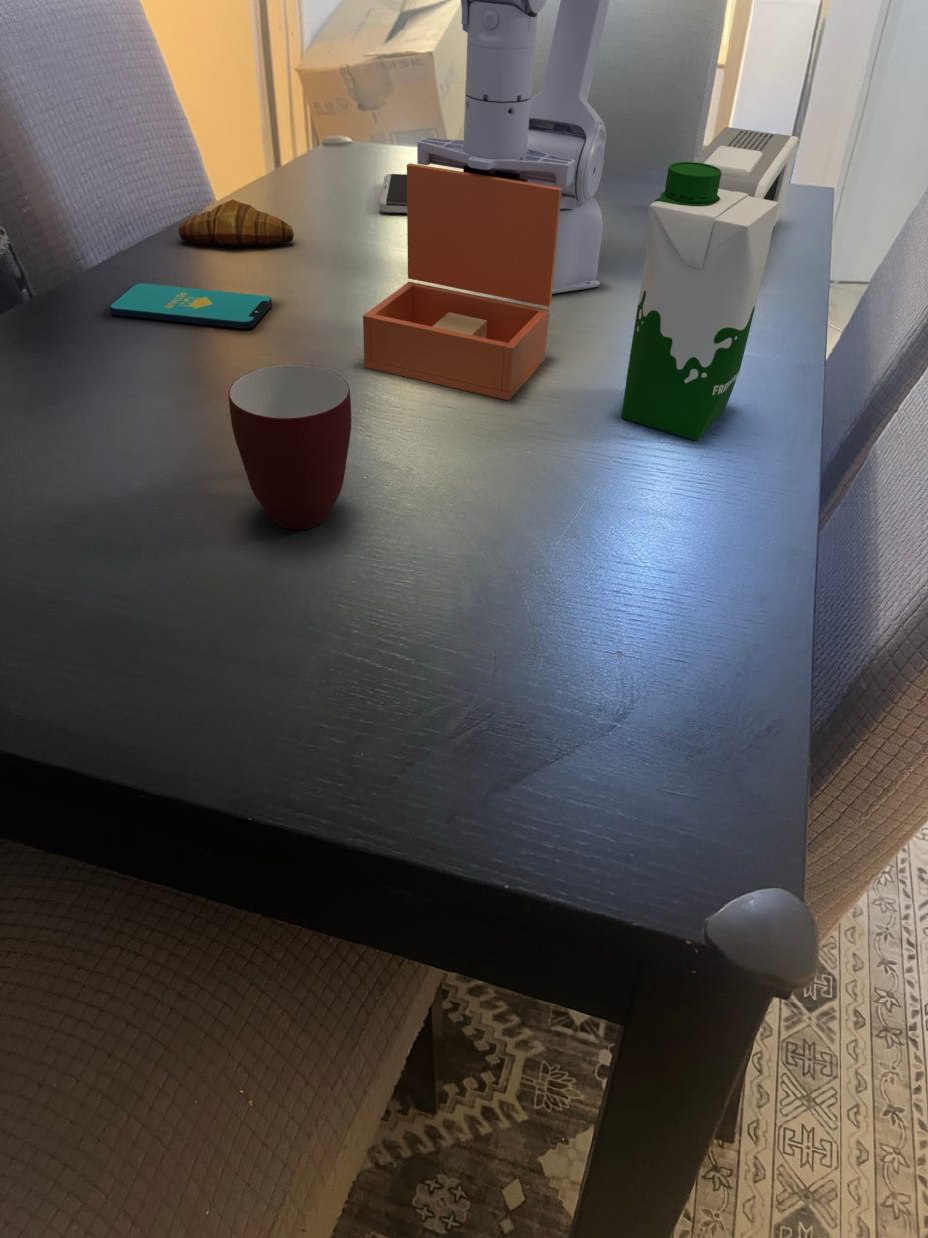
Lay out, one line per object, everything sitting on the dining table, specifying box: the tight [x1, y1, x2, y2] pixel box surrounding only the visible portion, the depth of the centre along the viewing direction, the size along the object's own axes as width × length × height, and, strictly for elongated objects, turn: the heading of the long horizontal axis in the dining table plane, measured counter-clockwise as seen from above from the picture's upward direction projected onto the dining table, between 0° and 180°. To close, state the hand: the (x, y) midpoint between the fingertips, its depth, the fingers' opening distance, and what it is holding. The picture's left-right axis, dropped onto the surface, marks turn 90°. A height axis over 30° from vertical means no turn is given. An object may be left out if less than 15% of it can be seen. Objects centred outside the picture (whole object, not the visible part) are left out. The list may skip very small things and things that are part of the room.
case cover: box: [406, 162, 562, 308], centre depth 87 cm, size 10×15×1 cm
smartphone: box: [109, 283, 273, 329], centre depth 97 cm, size 7×1×15 cm
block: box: [432, 312, 487, 338], centre depth 89 cm, size 5×4×3 cm
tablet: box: [378, 173, 407, 214], centre depth 129 cm, size 13×27×2 cm, turn 90°
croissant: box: [177, 199, 295, 247], centre depth 112 cm, size 14×7×5 cm, turn 94°
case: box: [362, 281, 550, 401], centre depth 89 cm, size 10×15×5 cm, turn 67°
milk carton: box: [620, 161, 779, 442], centre depth 78 cm, size 9×9×20 cm
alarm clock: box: [692, 126, 800, 227], centre depth 116 cm, size 27×9×12 cm, turn 157°
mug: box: [228, 363, 352, 531], centre depth 68 cm, size 11×8×10 cm
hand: (489, 254), depth 91 cm, fingers closed, pressing on case cover
